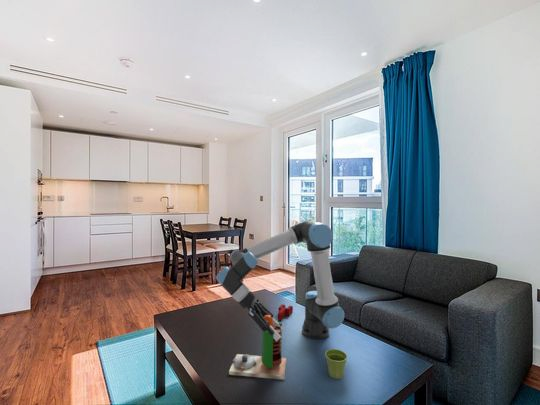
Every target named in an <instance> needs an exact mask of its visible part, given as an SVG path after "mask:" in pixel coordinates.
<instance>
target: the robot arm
mask: <svg viewBox="0 0 540 405" xmlns="http://www.w3.org/2000/svg"><path fill="white" fill-rule="evenodd" d="M333 238H334V236H333V231H332V229H331V228H330V226H328V225H327V224H325V223H323V222H319V221H313V220H305V221H301V222H299V223H297V224H294V225H293V226H290V227H288V228H287V230H285V231H283V232H280V233H278V234H276V235H274V236H270V237H269V238H266V239H264V240H262V241H259V242H257V243H255V244H253V245H250V246H248V247H245V248H242V249H236V250H235V249H234V250H233V251H232V252H231V254H230V256H229V258H230V259H229V260H230V261H231V264H232V266H231V267H229V266H225V267H223V269H222V270H221V271H220V272H219V273H217V274H216V277H215V278H216V281H217V282H218V283H219V284H220V286H221V287H223V289H224V290H225V291H226V292H227V293H228V294H229V295H230V296H231V297H232V299H234V300H235V301H236V302H238V305H239V306H240V307H241V308H242V309H244V310H245V309H248V311H249V312H248V313H247V314H248V316H249V317H250V318H252V320H253V321H254V323H255V324H257V326H258V327H259V328H260V330H263V331H264V332H265V331H267V332H269V334H270V335H273V338H274V339H275V340H276V341H277V340H279V339H280V338H281V336H280V335H279V334H278V333H277V332H276V331H275V330H274V328H273V327H272V326H271V325H270V326H269V324H268V323H267V322H268V321H266V320H265V319H264V316H265V315H270V316H271V317H272V320H273V326H274V327H276V326H278V327H280V328H281V329H282V330H283V329H284V328H283V326H282V327H281V326H280V325H279V324H278V322H279V321H277V320H276V319H275V317H274V314H273V313H272V312H271V311H270V310H269V309H268V308H267V307H266V306H265V305H264V304H263V303H262V302H261V301H260V300H259V299H255V298H256V295H255V294H254V293H253V292H252V291H251V290H250V289H249V287H248V286H247V285H246V284H245V283H244V282H243V281H242V280H243V279H244V278H245V277H246V276H248V274H249V273H251V271H252V270H253V269H255V267H256V266H257V265H258V264H259V260H258V259H260V258H263V257H266V256H268V255H270V254H272V253H274V252H277V251H279V250H281V249H284V248H285V247H287V246H291V245H297V244H300V243H306V244H305V245H306V250H307V251H308V252H309V253H310V256H311V262H312V269H313V275H314V276H313V277H314V281H315V289H316V290H310V291H307V292H306V293H305V296H304V300H305V301H304V315H305V316H304V320H303V324H302V325H301V326H302V327H301V332H302V335H303V336H305V337H306V338H310V339H313V340H322V339H325V338H327V337H328V336H329V335H330V329H337V328H338V327H340V325H341V324H342V323H343V322H344V319H345V311H344V309H343V308H342V307H341V306H340V304H339V298H338V297H337V296H336V295H335V291H334V290H335V289H334V284H333V277H332V272H331V271H332V270H331V263H330V257H329V250H330V249H331V244H332V241H333Z"/></svg>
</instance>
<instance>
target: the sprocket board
mask: <svg viewBox="0 0 540 405" xmlns="http://www.w3.org/2000/svg"><path fill="white" fill-rule="evenodd" d="M286 367H287V358H286V357H282V362H281V364H280V365H278V366H273V367H272V368H269V367H266V366H265V365H263V364H262V355H252V354H250V355H249V353H245V354H240V353H237V354H236V355H235V357H234V358H233V359H232V363H231V366H230V368H229V370H228V376H229V375H230V376H240V377H241V376H242V377H243V376H244V377H252V378H253V377H254V378H263V379H274V380H285V377H286V376H285V375H286Z"/></svg>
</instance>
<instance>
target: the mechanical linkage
mask: <svg viewBox="0 0 540 405" xmlns="http://www.w3.org/2000/svg"><path fill="white" fill-rule="evenodd" d="M293 310H294V307H293V305H289V306H287V307H286V304H280V305H279V307H278V313H277V320H278V321H283V320H284V319H285V317H287V318H288V317H290V316H291V315H292V314H293Z"/></svg>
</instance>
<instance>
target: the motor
mask: <svg viewBox="0 0 540 405" xmlns="http://www.w3.org/2000/svg"><path fill="white" fill-rule="evenodd" d="M272 318H273V317H271V316H270V315H265V316H264V319H265V320H266V321H267V323H268V324H269V326H270V325H271V326H272V327H273V328H274V330H275V331H276V332H277V333H278V334H279V335H280V336H281V338H280V339H279V340H277V341H276V340H275V339H274V338H273V335H270V334H269V332H267V331H265V332H264V331H263V330H262V329H261V330H262V331H261V332H262V334H261V342H262V343H261V356H262V364H263V365H265V366H266V367H269V368H272V367H273V366H278V365H280V364H281V362H282V358H283V356H282V333H283V329H281V328H280V327H278V326H276V327H274V326H273V320H272ZM277 322H278V324H279V325H280V326H281V327H282V328H283V323H282V322H279V321H277Z"/></svg>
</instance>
